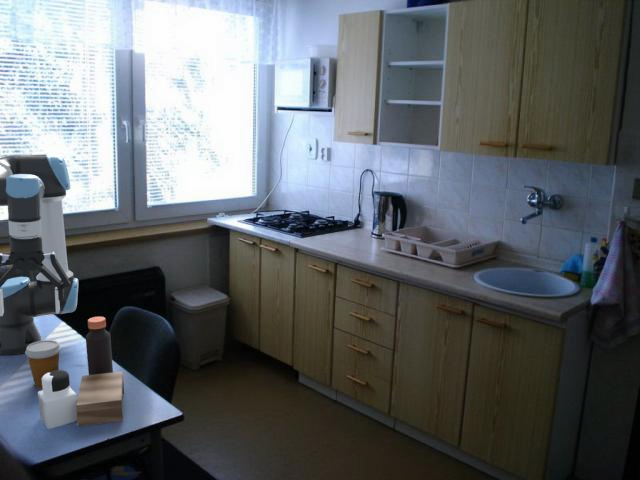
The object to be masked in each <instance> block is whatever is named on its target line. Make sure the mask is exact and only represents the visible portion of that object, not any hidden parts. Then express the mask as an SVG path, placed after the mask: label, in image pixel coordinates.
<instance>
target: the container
mask: <svg viewBox="0 0 640 480" xmlns="http://www.w3.org/2000/svg"><path fill="white" fill-rule="evenodd" d="M41 389H42V390H39V391H37V399H38V411H39V418H40V420H41V421H42V423H43V424H44V425H45V427H46V428H47V429H48V430H51V429H52V430H53V429H54V428H58V427H61V426H65V425H68V424H72V423H74V422H78V419H77V408H76V404H77V399H78V395H77V393H76V392H75V391H74V390H73V389H72V388H71V384H70V374H69V372H67V371H66V370H59V369H58V370H57V371H51V372H49V373H47V374H45V375H44V376H43V377H42V388H41Z"/></svg>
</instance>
